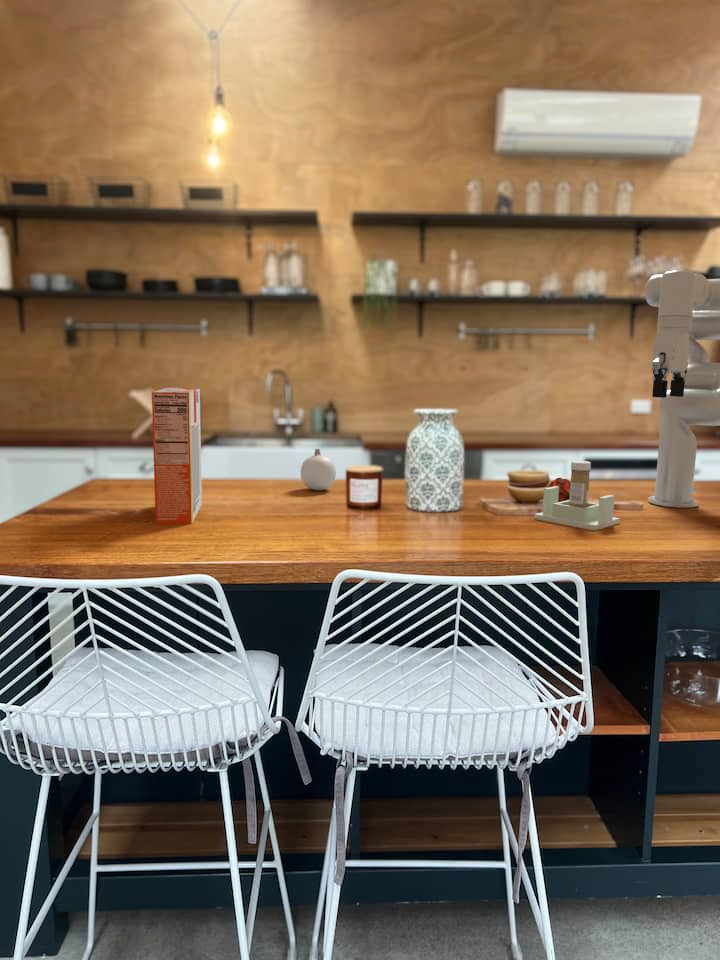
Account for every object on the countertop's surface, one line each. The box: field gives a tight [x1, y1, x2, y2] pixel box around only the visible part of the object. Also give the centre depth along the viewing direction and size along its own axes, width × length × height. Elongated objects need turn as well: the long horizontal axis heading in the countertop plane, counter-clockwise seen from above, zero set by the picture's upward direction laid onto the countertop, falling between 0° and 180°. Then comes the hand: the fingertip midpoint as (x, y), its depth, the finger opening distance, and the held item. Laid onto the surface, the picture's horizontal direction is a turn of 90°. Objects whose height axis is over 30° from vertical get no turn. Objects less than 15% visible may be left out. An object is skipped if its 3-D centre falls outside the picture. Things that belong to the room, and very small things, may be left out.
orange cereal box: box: [151, 387, 203, 525], centre depth 175 cm, size 23×8×30 cm, turn 6°
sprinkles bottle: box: [569, 460, 592, 508], centre depth 175 cm, size 5×5×13 cm
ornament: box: [300, 448, 337, 491], centre depth 211 cm, size 10×10×12 cm
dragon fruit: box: [546, 477, 571, 502], centre depth 192 cm, size 8×8×12 cm
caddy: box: [534, 486, 620, 532], centre depth 176 cm, size 12×16×7 cm
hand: (668, 396), depth 175 cm, fingers open, 9 cm apart
